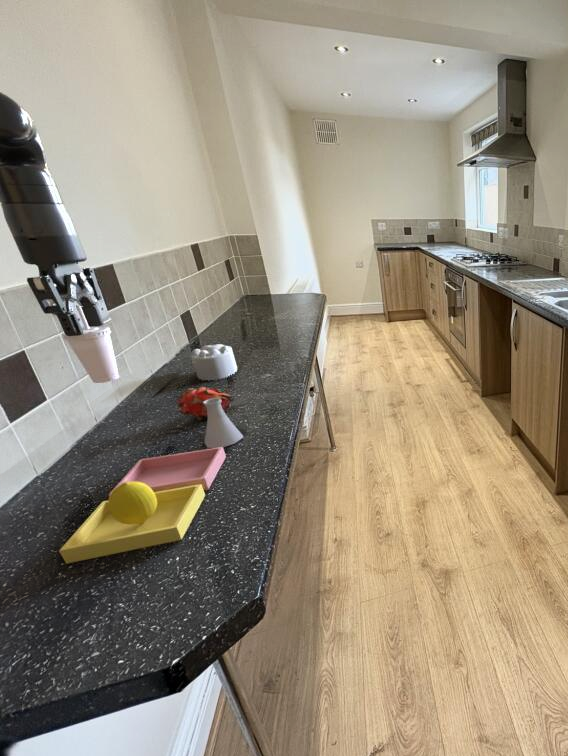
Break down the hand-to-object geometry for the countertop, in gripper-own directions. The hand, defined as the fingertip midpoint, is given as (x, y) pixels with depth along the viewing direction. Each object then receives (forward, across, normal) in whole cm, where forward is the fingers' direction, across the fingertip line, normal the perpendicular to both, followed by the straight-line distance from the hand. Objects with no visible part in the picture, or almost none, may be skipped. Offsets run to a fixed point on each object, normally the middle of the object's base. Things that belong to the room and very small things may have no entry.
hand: (86, 330), depth 75 cm
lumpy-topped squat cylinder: (+28, -52, +1) cm, 59 cm away
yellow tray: (+28, +25, +10) cm, 38 cm away
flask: (+28, -2, +15) cm, 32 cm away
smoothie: (+10, 0, 0) cm, 10 cm away
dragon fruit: (+28, -18, +8) cm, 34 cm away
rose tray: (+28, +11, +10) cm, 31 cm away
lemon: (+27, +25, +10) cm, 38 cm away
